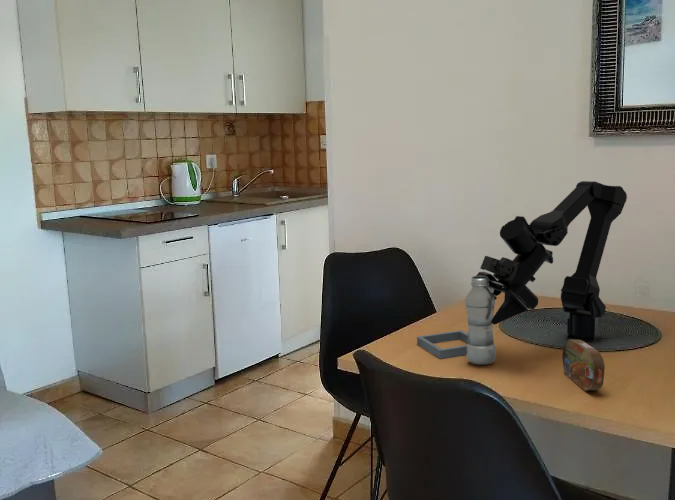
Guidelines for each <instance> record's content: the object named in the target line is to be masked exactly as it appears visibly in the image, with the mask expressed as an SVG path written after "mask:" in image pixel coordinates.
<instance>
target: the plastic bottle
mask: <svg viewBox="0 0 675 500" xmlns="http://www.w3.org/2000/svg"><path fill="white" fill-rule="evenodd" d="M470 286H471V287H472V288H471V289H470V290H469V291H468V293H467V295H466V296H465V299H464V304H465V310H466V315H467V328H468V330H467V333H468V343H466V345H467V347H466V355H465V356H466V359H467V360H468V362H469V363H470V364H474V365H478V366H482V365H483V366H484V365H486V366H487V365H491V364H493V363H494V361H495V360H496V356H497V350H496V344H495V339H494V326H493V325H494V324H493V323H491V320H492V319H493V317H494V315H495V312H494V311H495V306H496V305H495V304H496V300H495V299H494V296H493V295H492V293H491V292H490V290H489V289H488V286H489V278H488V277H487V276H476V275H475V276H472V277H471V282H470Z"/></svg>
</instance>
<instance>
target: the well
mask: <svg viewBox="0 0 675 500" xmlns="http://www.w3.org/2000/svg"><path fill="white" fill-rule="evenodd" d="M456 340H461V341H462V342H464V343H466V344H465V345H459V346H453V347H445V348H441V347H439V346H437V345H436V343H437V344H438V343H444V342H445V343H446V342H450V341H456ZM467 343H468V332H466V331H464V330H462V329H461V330H454V331H447V332H439V333H433V334H425V335H418V336H416V344H417V346H419V347H421V348H423V350H425V351H427V352H429V353H430V354H432V355H433V356H434V357H436V358H437V359H440V360H442V359H449V358H455V357H461V356H467V355H466V347H467Z"/></svg>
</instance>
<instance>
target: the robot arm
mask: <svg viewBox="0 0 675 500" xmlns="http://www.w3.org/2000/svg"><path fill="white" fill-rule="evenodd" d="M627 199H628V195H627V192H626V190H624V188H623V187H622V186H620V185H607V184H603V183H601V182H598V181H594V180H593V181H589V180H587V181H586V180H584V181H583V180H581V181H579V182H578V183H577V184H576V186H575V188H573V190H572V191H571V192H570V193H569V194H568V195H566V197H564V199H563V200H562V201H561V202H560V203H559V204H558V205H557V206H556V207H554V209H552V210H551V211H549V212H547V213H544V214H541V215H539V216H538V217H536V218H534V219H533V220H531V222H530V223H528V221H527V219H526V218H525V216H520V215H516V216H515V217H514V219H512V220H510V221H508V222H507V223H505V224H504V225H502V226H501V228H500V231H499V235H500V238H501V239H502V240H503V241H504V243H505V244H506V246H507V247H509V249H510V250H511V252H513V253H514V254H515V257H514V258H513V259H510V258H508V257H501V258H500V259H498V258H495V257H491V256H488V255H484V258H483V260H482V263H481V265H480V268H479V269H481V270H483V271H479V272H478V273H477V274H476V275H475V276H487V277H488V278H489V286H488V289H489V290H490V292H491V293H492V295H493V296H494V299H495V301H496V300H497V299H498V297H497V296H499V295H501V294H502V293H503V294H504V298H503V299H504V301H502V303H501V305H500V307H499V308H498V310H497V311H496V313H494V314H493V319H492V320H491V323H493V324H492V325H497V324H499V323H501V322H504V321H505V320H508V319H510V318H512V317H514V316H517V315H519V314H522V313H524V312H528V311H529V310H530V311H534V310H535V309H536V307H537V306H538V305H539V298H538V297H537V295H536V294H535V293H534V292H533V291H532V290H531V289H530V288H529V287H528V283H529V282H532V283H534V282H535V281H536V277H535V274H536V273H537V272H538V271H539V269H540V268H541V267H542V265H544V264H545V262H546V263H549V264H551V265H553V263H554V258H553V257H554V256H553V253H554V252H553V251H552V250H550V249H547V248H546V247H545V246H549V247H550V246H553V247H557V246H559V245H560V244H561V243H562V242H563V241H564V239H565V237H566V236H567V234H568V231H569V230H568V229H569V228H568V227H569V225H571V223H572V222H574V220H575V219H576V218H577V217H578V216H579V215H580V214H581V213H582V212H583V210H585V209H586V208H587V209H588V212H589V216H590V220H589V224H588V226H587V230H586V234H585V237H584V241H583V244H582V248H581V252H580V256H579V259H578V263H577V266H576V269H575V272H574V273H573V274H572V275H571V276H570V275H569V276H568V275H566V276H565V278H564V280H563V285H562V287H561V290H560V292H561V293H560V301H561V305H562V309H563V310H562V311H563V313H568V314H569V317H568V318H567V319H566V334H567V336H566V339H567V340H568V339H572V340H582V341H584V342H590V343H594V342H595V341H596V340H597V339H598V338H599V337H601V333H599V318H602V317H603V316H604V315H605V313H606V308H607V306H606V304H604V302H603V300H602V299H601V297H600V293H601V292H600V291H601V289H600V286H599V282H598V279H597V276H598V272H599V270H600V269H599V268H600V265H601V261H602V257H603V254H604V250H605V247H606V243H607V240H608V237H609V233H610V229H611V226H612V223H613V222H614V221H615V220H616V219H617V218H619V216H620V215H621V214H622V213H623V210H624V207H625V204H626V203H627Z"/></svg>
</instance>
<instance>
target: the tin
mask: <svg viewBox="0 0 675 500" xmlns="http://www.w3.org/2000/svg"><path fill="white" fill-rule="evenodd" d="M561 354H562V357H561V358H562V359H561V360H562V367H563V371H564V373H565V376H566V377H567V378H568V379H569V380H571V381H572V382H573V383H574V384H576V386H578V387H579V388H580V389H581V390H583V391H586V392H587V391H599V390H600V389H601V388H602V387H603V385H604V379H605V370H606V369H605V368H606V366H605V361H604V358H603V356H602V354H601V353H600V351H599V350H597V349H596V348H595V347H593V346H591V345H590V344H588V343H587V342H586V341H582V340H574V339H568V338H567V340H565V342H564V345H563V348H562V353H561Z"/></svg>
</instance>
